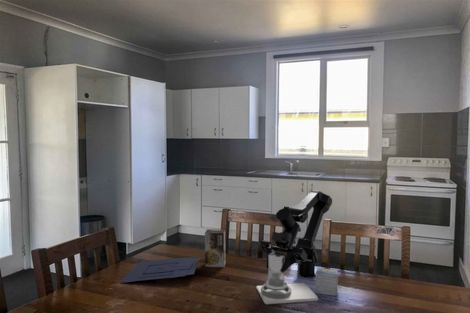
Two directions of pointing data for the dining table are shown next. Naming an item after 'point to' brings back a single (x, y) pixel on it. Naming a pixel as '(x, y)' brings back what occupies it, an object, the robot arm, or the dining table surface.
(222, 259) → the coffee box
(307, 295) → the locating plate
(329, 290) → the medicine box
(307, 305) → the dining table surface
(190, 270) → the papers
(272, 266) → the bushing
